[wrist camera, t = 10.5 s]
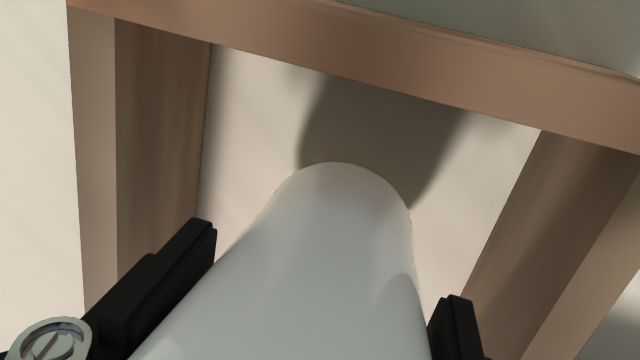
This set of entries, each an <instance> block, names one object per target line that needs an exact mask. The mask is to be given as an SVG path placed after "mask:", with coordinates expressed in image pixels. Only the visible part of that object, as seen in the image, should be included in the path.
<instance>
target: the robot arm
mask: <svg viewBox="0 0 640 360" xmlns="http://www.w3.org/2000/svg"><path fill="white" fill-rule="evenodd" d="M216 240H217V229H214V228H213V225H212V223H211V222H209V221H206V220H202V219H199V218H196V217H191V218H190V219H189V220H188V221H187V222H186V223H185V224H184V225H183V226H182V227H181V228H180V229H179V230H178V231H177V233H176V234H175V235H174V236H173V237H172V238H171V239H170V240H169V241H168V242H167V243H166V244H165V245H164V246H163V247H162V248H161V249H160V250H159V251H158V252H157V253H156V254H153V253H147V254H146V255H144V256H143V257H142V258H141V259H140V260H139V261H138V262H137V263H136V264H135V265H134V266H133V267H132V268H131V269H130V270H129V271H128V272H127V273H126V274H125V275H124V276H123V277H122V278H121V279H120V280H119V281H118V282H117V283H116V284H115V285H114V286H113V287H112V288H111V289H110V290H109V291H108V292H107V293H106V294H105V295H104V296H103V297H102V298H101V299H100V300H99V301H98V302H97V303H96V304H95V305H94V306H93V307H92V308H91V309H90V310H89V311H88V312H87V313H86V314H85V315H84V316H83V317H82V318H81V319H78V318H75V317H66V316H62V317H53V318H49V319H46V320H43V321H40V322H38V323H36V324H34V325H32V326H30V327H28V328H27V329H26V330H25V331H23V332H22V333H21V334H20V335H19V336H18V337H17V338H16V340H15V341H14V342H13V344H12V346H11V348H10V350H9V351H5V352H2V353H0V360H127V359H128V358H129V357H130V356H131V355H132V353H133V352H134V351H135V350H136V349H137V348H138V347H139V346H140V345H141V344H142V342H143V341H144V340H145V339H146V338H147V337H148V336H149V335H150V334H151V333H152V332H153V330H154V329H155V328H156V327H157V326H158V325H159V324H160V323H161V322H162V321H163V319H164V318H165V317H166V316H167V315H168V314H169V313H170V312H171V311H172V310H173V308H174V307H175V306H176V305H177V304H178V303H179V302H180V301H181V300H182V299H183V298H184V296H185V295H186V294H187V293H188V292H189V291H190V290H191V289H192V288H193V286H194V285H195V284H196V283H197V282H198V281H199V280H200V279H201V278H202V277H203V275H204V274H205V273H206V272H207V271H208V270H209V269H210V268H211V267H212V265H213V264H214V256H215V248H216ZM427 333H428V339H429V344H430V350H431V355H432V360H492V359H491V358H488V357H485V356H484V352H483V347H482V343H481V338H480V334H479V329H478V325H477V320H476V316H475V311H474V306H473V303H472V301H471V300H469V299H465V298H462V297H459V296H455V295H452V294H450V295H449V296H448V297H447V298H443V297H441V298H440V300H439V302H438V304H437V306H436V308H435V310H434V312H433V315H432V317H431V319H430V321H429V323H428V325H427Z"/></svg>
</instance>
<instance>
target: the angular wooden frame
mask: <svg viewBox="0 0 640 360" xmlns="http://www.w3.org/2000/svg"><path fill="white" fill-rule="evenodd" d="M66 8H67V25H68V41H69V58H70V74H71V91H72V107H73V124H74V140H75V157H76V173H77V190H78V206H79V222H80V239H81V255H82V272H83V288H84V305H85V314H86V313H87V312H88V311H89V310H90V309H91V308H92V307H93V306H94V305H95V304H96V303H97V302H98V301H99V300H100V299H101V298H102V297H103V296H104V295H105V294H106V293H107V292H108V291H109V290H110V289H111V288H112V287H113V286H114V285H115V284H116V283H117V282H118V281H119V280H120V279H121V278H122V277H123V276H124V275H125V274H126V273H127V272H128V271H129V270H130V269H131V268H132V267H133V266H134V265H135V264H136V263H137V262H138V261H139V260H140V259H141V258H142V257H143V256H144V255H146V254H147V253H153V254H156V253H157V252H158V251H159V250H160V249H161V248H162V247H163V246H164V245H165V244H166V243H167V242H168V241H169V240H170V239H171V238H172V237H173V236H174V235H175V234H176V233H177V231H178V230H179V229H180V228H181V227H182V226H183V225H184V224H185V223H186V222H187V221H188V220H189V219H190V218H191V217H195V215H196V204H197V193H198V182H199V171H200V160H201V150H202V139H203V128H204V117H205V106H206V95H207V85H208V74H209V63H210V52H211V43H214V44H218V45H222V46H225V47H229V48H233V49H237V50H241V51H244V52H248V53H252V54H256V55H260V56H263V57H267V58H271V59H275V60H279V61H282V62H286V63H290V64H294V65H298V66H301V67H305V68H309V69H313V70H317V71H321V72H324V73H328V74H332V75H336V76H340V77H343V78H347V79H351V80H355V81H359V82H362V83H366V84H370V85H374V86H378V87H381V88H385V89H389V90H393V91H397V92H400V93H404V94H408V95H412V96H416V97H420V98H423V99H427V100H431V101H435V102H439V103H442V104H446V105H450V106H454V107H458V108H461V109H465V110H469V111H473V112H477V113H480V114H484V115H488V116H492V117H496V118H499V119H503V120H507V121H511V122H515V123H519V124H522V125H526V126H530V127H534V128H538V129H541V130H542V131H541V133H540V135H539V138H538V140H537V142H536V144H535V146H534V148H533V150H532V152H531V154H530V156H529V158H528V160H527V162H526V164H525V166H524V168H523V170H522V172H521V174H520V176H519V178H518V180H517V182H516V184H515V186H514V188H513V190H512V192H511V194H510V196H509V198H508V200H507V202H506V205H505V207H504V209H503V211H502V213H501V215H500V217H499V219H498V221H497V223H496V225H495V227H494V229H493V231H492V233H491V235H490V237H489V239H488V241H487V243H486V245H485V247H484V249H483V251H482V253H481V255H480V257H479V259H478V261H477V263H476V265H475V267H474V269H473V272H472V274H471V276H470V278H469V280H468V282H467V284H466V286H465V288H464V290H463V292H462V294H461V296H460V297H462V298H465V299H469V300H471V301H472V303H473V306H474V311H475V316H476V320H477V325H478V329H479V334H480V338H481V343H482V347H483V352H484V356H485V357H488V358H491V359H492V360H574V358H575V357H576V355H577V354H578V353H579V351H580V350H581V349H582V347H583V346H584V344H585V343H586V342H587V340H588V339H589V338H590V336H591V335H592V333H593V332H594V331H595V329H596V328H597V327H598V325H599V324H600V322H601V321H602V320H603V318H604V317H605V316H606V314H607V313H608V311H609V310H610V309H611V307H612V306H613V304H614V303H615V302H616V300H617V299H618V298H619V296H620V295H621V293H622V292H623V291H624V289H625V288H626V287H627V285H628V284H629V282H630V281H631V280H632V278H633V277H634V276H635V274H636V273H637V271H638V270H639V269H640V79H638V78H635V77H632V76H629V75H626V74H624V73H621V72H618V71H615V70H612V69H607V68H603V67H599V66H595V65H591V64H587V63H583V62H579V61H575V60H571V59H567V58H563V57H559V56H555V55H551V54H547V53H543V52H539V51H535V50H531V49H527V48H523V47H519V46H515V45H511V44H507V43H503V42H499V41H495V40H491V39H487V38H483V37H479V36H475V35H471V34H467V33H463V32H459V31H455V30H451V29H447V28H443V27H439V26H435V25H431V24H427V23H423V22H419V21H415V20H411V19H407V18H402V17H398V16H394V15H390V14H386V13H382V12H378V11H374V10H370V9H366V8H362V7H358V6H354V5H350V4H346V3H342V2H338V1H334V0H66Z"/></svg>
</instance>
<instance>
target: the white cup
mask: <svg viewBox="0 0 640 360" xmlns="http://www.w3.org/2000/svg"><path fill="white" fill-rule="evenodd" d="M127 360H432V355H431V350H430V344H429V339H428V333H427V328H426V322H425V317H424V311H423V305H422V300H421V294H420V288H419V282H418V277H417V271H416V265H415V259H414V248H413V228H412V222H411V218H410V215H409V212H408V209H407V207H406V205H405V203H404V201H403V200H402V198H401V196H400V195H399V194H398V192H397V191H396V190H395V189H394V188H393V187H392V186H391V185H390V184H389V183H388V182H387V181H386V180H385V179H383V178H382V177H380V176H379V175H378V174H376V173H374V172H372V171H370V170H368V169H366V168H363V167H360V166H358V165H354V164H350V163H343V162H325V163H318V164H314V165H311V166H308V167H305V168H303V169H301V170H298V171H297V172H295V173H293V174H292V175H291V176H289V177H288V178H287V179H285V180H284V181H283V182H282V183H281V184H280V185H279V187H278V188H277V189H276V190H275V192H274V193H273V195H272V196H271V198H270V199H269V200H268V202H267V203H266V205H265V206H264V208H263V209H262V210H261V212H260V213H259V214H258V215H257V216H256V217H255V218H254V220H253V221H252V222H251V223H250V224H249V225H248V226H247V228H246V229H245V230H244V231H243V232H242V233H241V234H240V235H239V237H238V238H237V239H236V240H235V241H234V242H233V243H232V244H231V245H230V247H229V248H228V249H227V250H226V251H225V252H224V253H223V254H222V255H221V257H220V258H219V259H218V260H217V261H216V262H215V263H214V264H213V265H212V267H211V268H210V269H209V270H208V271H207V272H206V273H205V274H204V275H203V277H202V278H201V279H200V280H199V281H198V282H197V283H196V284H195V285H194V286H193V288H192V289H191V290H190V291H189V292H188V293H187V294H186V295H185V296H184V298H183V299H182V300H181V301H180V302H179V303H178V304H177V305H176V306H175V307H174V308H173V310H172V311H171V312H170V313H169V314H168V315H167V316H166V317H165V318H164V319H163V321H162V322H161V323H160V324H159V325H158V326H157V327H156V328H155V329H154V330H153V332H152V333H151V334H150V335H149V336H148V337H147V338H146V339H145V340H144V341H143V342H142V344H141V345H140V346H139V347H138V348H137V349H136V350H135V351H134V352H133V353H132V355H131V356H130V357H129V358H128V359H127Z"/></svg>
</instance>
